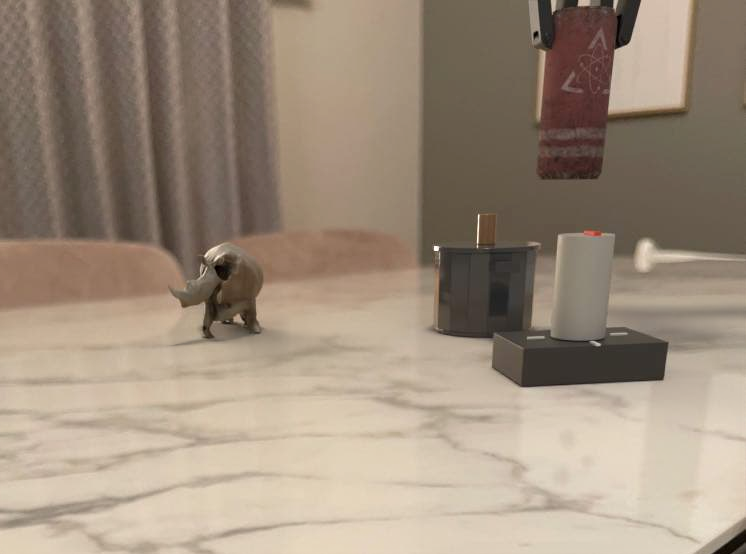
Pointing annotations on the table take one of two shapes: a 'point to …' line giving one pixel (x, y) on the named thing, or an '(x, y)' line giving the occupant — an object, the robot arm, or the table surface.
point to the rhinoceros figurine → (225, 287)
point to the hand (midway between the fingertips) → (572, 135)
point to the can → (576, 93)
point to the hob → (578, 357)
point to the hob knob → (582, 285)
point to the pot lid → (486, 240)
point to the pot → (483, 292)
